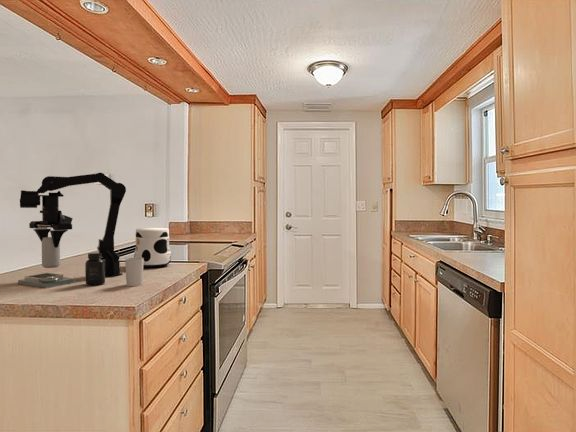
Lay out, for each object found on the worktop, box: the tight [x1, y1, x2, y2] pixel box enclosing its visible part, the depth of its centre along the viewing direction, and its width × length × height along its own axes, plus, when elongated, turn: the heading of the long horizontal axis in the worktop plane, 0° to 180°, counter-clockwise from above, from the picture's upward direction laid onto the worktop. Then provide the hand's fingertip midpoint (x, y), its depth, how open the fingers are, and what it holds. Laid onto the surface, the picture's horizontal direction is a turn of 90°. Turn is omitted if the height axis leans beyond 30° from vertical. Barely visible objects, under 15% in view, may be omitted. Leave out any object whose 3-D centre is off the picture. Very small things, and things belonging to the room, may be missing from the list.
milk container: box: [133, 227, 172, 268], centre depth 207 cm, size 17×17×18 cm
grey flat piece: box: [17, 272, 76, 289], centre depth 165 cm, size 16×12×3 cm
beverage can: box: [41, 236, 61, 269], centre depth 171 cm, size 6×6×12 cm
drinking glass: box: [124, 256, 144, 287], centre depth 163 cm, size 7×7×10 cm
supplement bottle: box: [84, 251, 106, 287], centre depth 163 cm, size 7×7×12 cm
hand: (50, 246), depth 171 cm, fingers closed on beverage can, 6 cm apart
